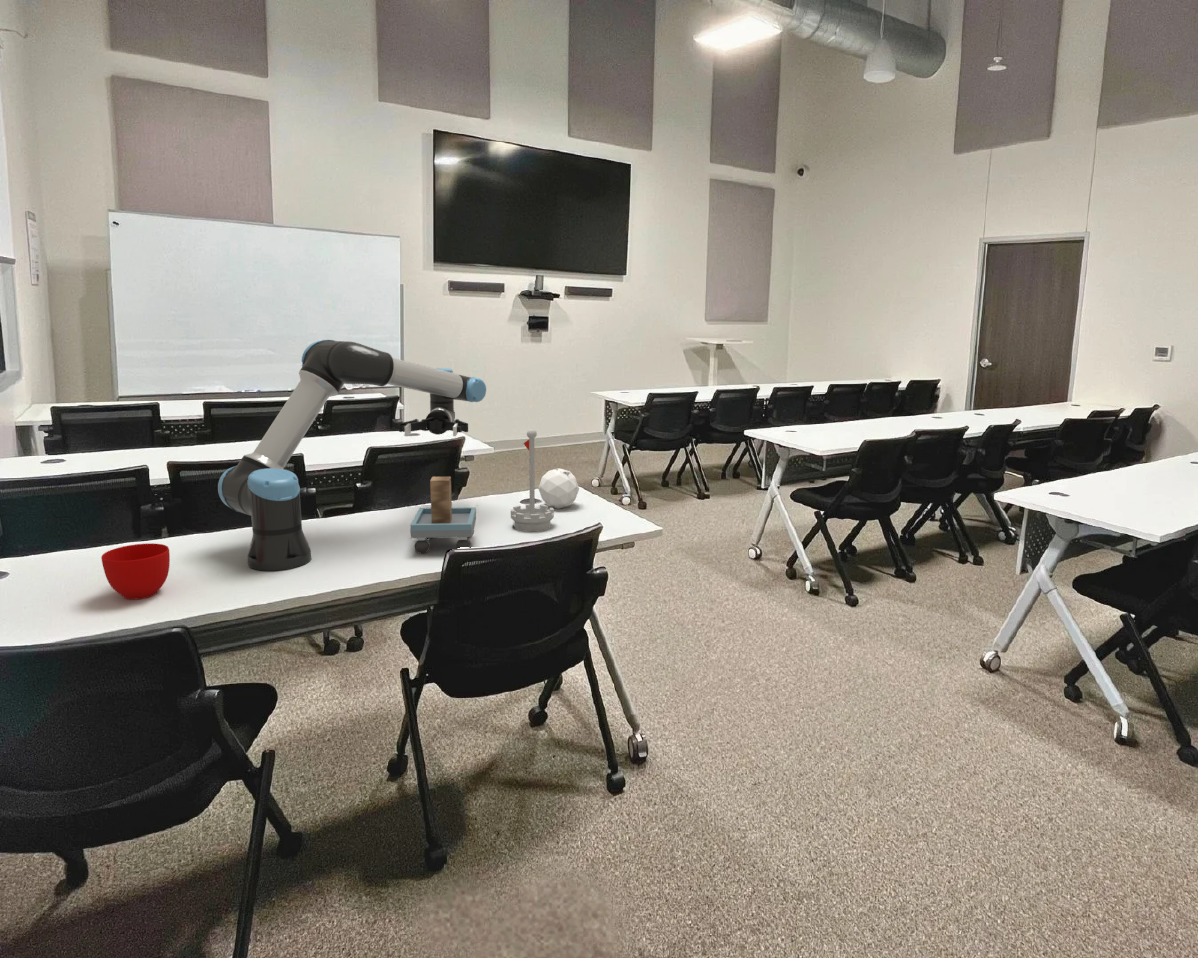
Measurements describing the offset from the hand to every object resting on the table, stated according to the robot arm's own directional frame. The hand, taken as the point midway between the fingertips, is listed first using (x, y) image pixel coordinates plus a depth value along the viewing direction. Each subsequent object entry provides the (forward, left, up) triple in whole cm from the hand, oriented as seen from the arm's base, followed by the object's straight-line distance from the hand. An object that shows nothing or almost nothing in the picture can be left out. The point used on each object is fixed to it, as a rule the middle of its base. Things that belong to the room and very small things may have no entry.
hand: (430, 431), depth 213 cm
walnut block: (+4, -13, -23) cm, 27 cm away
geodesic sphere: (+38, +28, -30) cm, 56 cm away
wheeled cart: (+5, -13, -30) cm, 33 cm away
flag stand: (+29, +5, -30) cm, 42 cm away
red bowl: (-61, -45, -30) cm, 81 cm away
